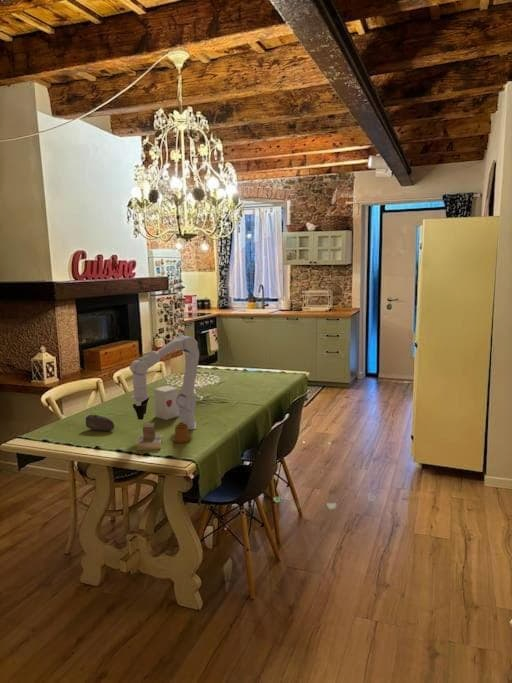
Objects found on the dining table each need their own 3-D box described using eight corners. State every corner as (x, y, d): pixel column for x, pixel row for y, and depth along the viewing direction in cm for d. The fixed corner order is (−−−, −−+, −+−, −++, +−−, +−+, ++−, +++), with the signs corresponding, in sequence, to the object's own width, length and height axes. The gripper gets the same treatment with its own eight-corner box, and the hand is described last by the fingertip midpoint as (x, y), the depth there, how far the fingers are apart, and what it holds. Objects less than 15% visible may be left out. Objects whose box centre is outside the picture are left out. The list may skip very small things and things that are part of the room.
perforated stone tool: (117, 430, 232) (116, 416, 231) (110, 433, 227) (109, 419, 226) (92, 426, 238) (91, 413, 237) (85, 430, 233) (83, 416, 232)
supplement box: (165, 420, 244) (164, 391, 241) (155, 417, 250) (153, 388, 247) (180, 416, 250) (178, 387, 248) (169, 412, 256) (167, 385, 254)
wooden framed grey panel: (140, 441, 216) (139, 434, 216) (163, 440, 217) (162, 433, 216) (136, 450, 206) (136, 443, 206) (160, 449, 207) (160, 442, 207)
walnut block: (145, 436, 213) (144, 423, 212) (155, 436, 213) (154, 423, 212) (143, 440, 209) (142, 427, 208) (154, 440, 209) (153, 426, 208)
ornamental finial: (191, 442, 214) (174, 444, 212) (189, 436, 221) (173, 438, 219) (190, 425, 213) (173, 426, 211) (188, 419, 220) (172, 421, 218)
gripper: (133, 383, 222) (135, 411, 225) (128, 392, 208) (130, 422, 210) (149, 382, 223) (151, 411, 225) (144, 391, 209) (146, 421, 211)
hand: (142, 416), depth 218 cm, fingers open, 7 cm apart
